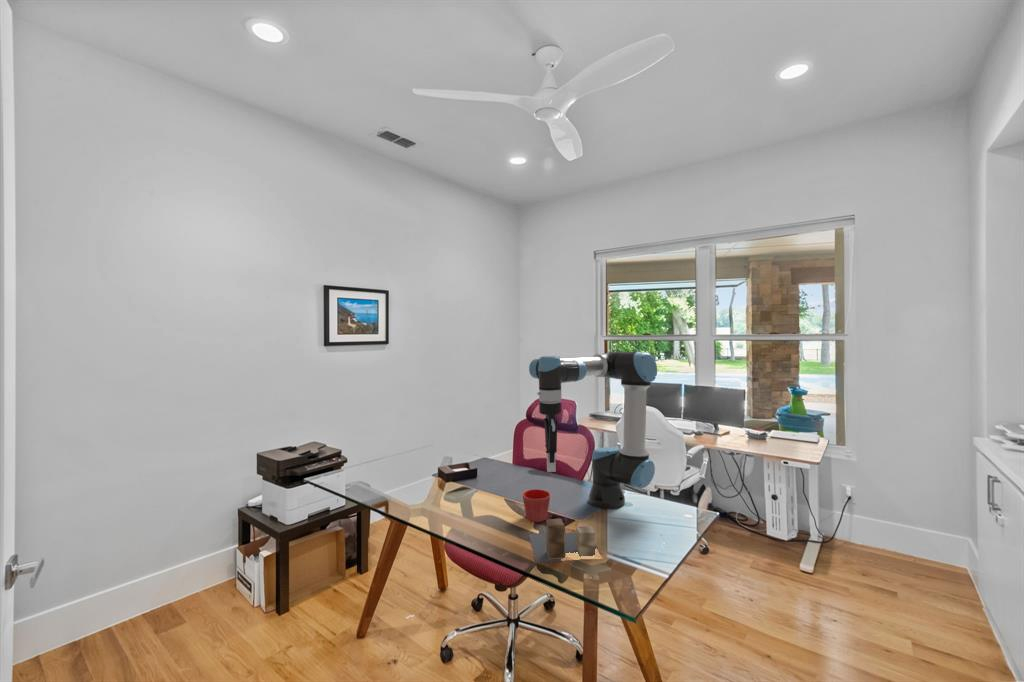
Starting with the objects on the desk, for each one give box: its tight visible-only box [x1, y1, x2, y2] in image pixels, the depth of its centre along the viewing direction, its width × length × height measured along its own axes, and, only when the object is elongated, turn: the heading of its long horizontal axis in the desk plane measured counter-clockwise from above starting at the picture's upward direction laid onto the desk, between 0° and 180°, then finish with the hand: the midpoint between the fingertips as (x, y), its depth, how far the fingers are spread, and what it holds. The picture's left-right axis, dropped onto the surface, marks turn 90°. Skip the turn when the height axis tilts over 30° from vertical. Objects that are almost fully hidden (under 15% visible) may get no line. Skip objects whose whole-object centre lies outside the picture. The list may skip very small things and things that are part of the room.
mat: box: [528, 531, 599, 564], centre depth 156 cm, size 22×20×1 cm
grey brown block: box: [545, 518, 565, 560], centre depth 149 cm, size 5×5×11 cm
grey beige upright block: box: [575, 525, 596, 557], centre depth 150 cm, size 5×5×8 cm
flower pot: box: [522, 489, 551, 523], centre depth 180 cm, size 11×11×10 cm
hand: (551, 470), depth 155 cm, fingers closed
